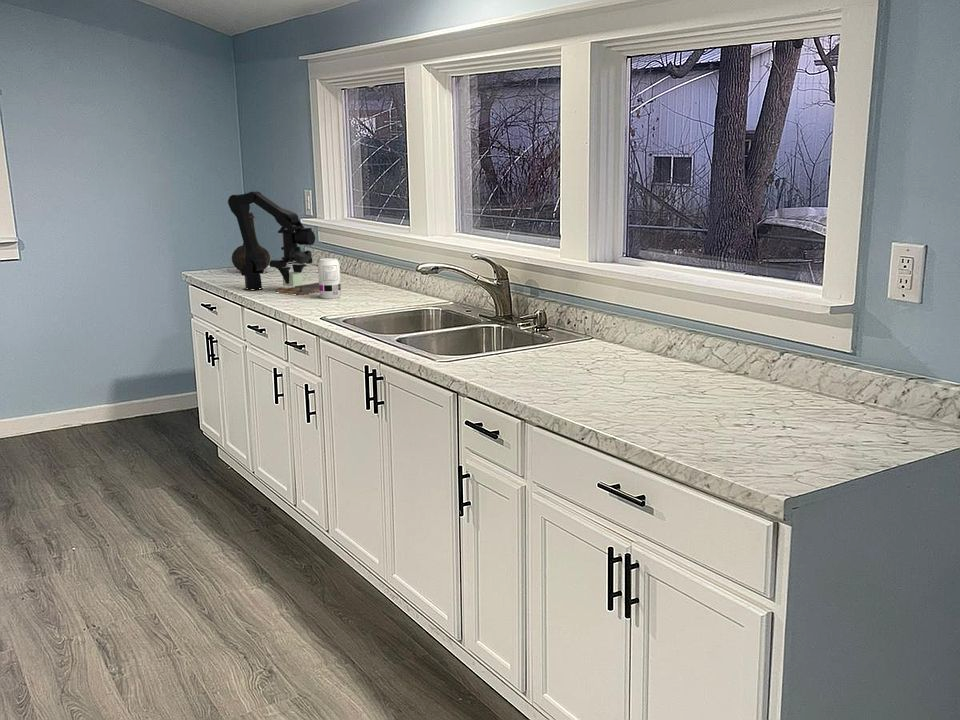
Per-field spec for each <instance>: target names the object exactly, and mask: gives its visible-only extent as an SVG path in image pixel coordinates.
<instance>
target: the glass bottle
mask: <svg viewBox="0 0 960 720" xmlns="http://www.w3.org/2000/svg"><path fill="white" fill-rule="evenodd" d="M249 218H250V222H251V226H252V229H253V233H254V237H255V240H256V244H257V248H258V249H259V251H260V252H264V253H265V258H266V260H267V261H266V266H265V268H264V269H265V270H266V269H267V268H268V266H270V261H271V256H270V252H269V251H268V250H267V249H266V248H265V247H263V246H261V245H260V244H259V241H258V239H257V234H256V229H255V222H254V219H255V218H256V216H254V213H253V212H249ZM242 242H243V241H242ZM245 254H246V250H245V246H244V242H243V243H242V245H240V246H237V248H236V249H234V251H233V252H232V254H231V262H232V264H233V266H234V268H236V270H238V271H239V270H241V269H242V268H243V267H244V265H245Z"/></svg>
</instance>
